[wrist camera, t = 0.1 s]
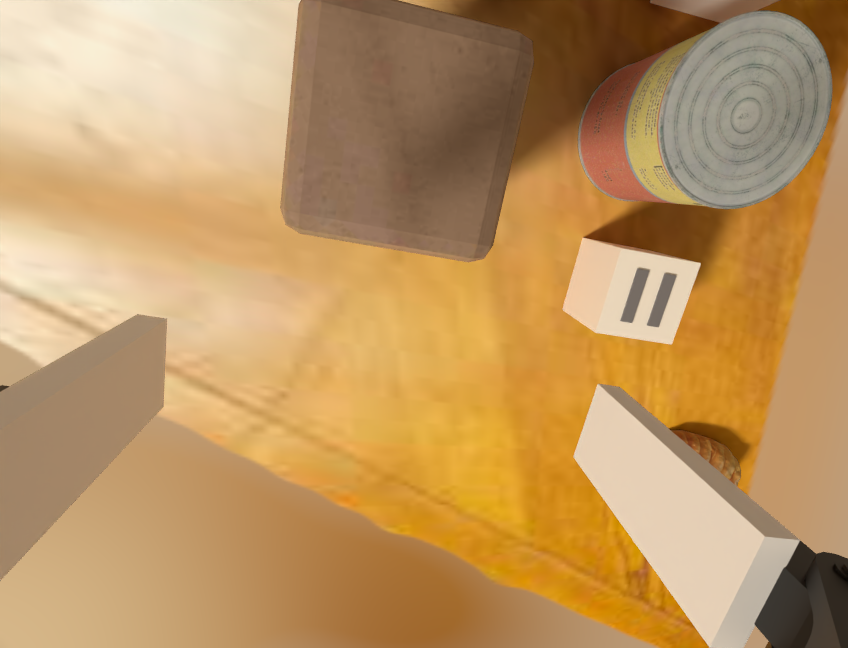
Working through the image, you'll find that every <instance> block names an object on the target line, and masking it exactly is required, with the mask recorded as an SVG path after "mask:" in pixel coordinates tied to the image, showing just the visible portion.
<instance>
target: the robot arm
mask: <svg viewBox="0 0 848 648" xmlns="http://www.w3.org/2000/svg"><path fill="white" fill-rule="evenodd" d="M166 331H167V319H165V318H158V317H152V316H145V315H138V314H137V315H136V316H134V317H132V318H130V319H128V320H127V321H125V322H123V323H121V324H120V325H118V326H116V327H114V328H113V329H111V330H109V331H107V332H105V333H104V334H102V335H100V336H98V337H97V338H95V339H93V340H91V341H89V342H88V343H86V344H84V345H82V346H81V347H79V348H77V349H75V350H73V351H72V352H70V353H68V354H66V355H65V356H63V357H61V358H59V359H57V360H56V361H54V362H52V363H50V364H49V365H47V366H45V367H43V368H42V369H40V370H38V371H36V372H34V373H33V374H31V375H29V376H27V377H26V378H24V379H22V380H20V381H19V382H17V383H15V384H13V385H11V386H3V385H2V386H0V581H1V579H2V578H3V577H4V576H5V575H6V574H7V573H8V572H9V571H10V570H11V569H12V568H13V566H15V565H16V563H17V562H18V561H19V560H20V559H21V558H22V557H23V556H24V555H25V554H26V553H27V552H28V550H30V548H31V547H32V546H33V545H34V544H35V543H36V542H37V541H38V540H39V539H40V538H41V537H42V536H43V535H44V534H45V533H46V531H47V530H48V529H49V528H50V527H51V526H52V525H53V524H54V523H55V522H56V521H57V520H58V518H60V517H61V515H62V514H63V513H64V512H65V511H66V510H67V509H68V508H69V507H70V506H71V505H72V504H73V503H74V502H75V501H76V499H77V498H78V497H79V496H80V495H81V494H82V493H83V492H84V491H85V490H86V489H87V488H88V486H89V485H90V484H91V483H92V482H93V481H94V480H95V479H96V478H97V477H98V476H99V474H101V473H102V472H103V470H104V469H105V468H106V467H107V466H108V465H109V464H110V463H111V462H112V461H113V460H114V459H115V458H116V457H117V456H118V455H119V454H120V452H121V451H122V450H123V449H124V448H125V447H126V446H127V445H128V444H129V443H130V442H131V441H132V439H134V438H135V436H136V435H137V434H138V433H139V432H140V431H141V430H142V429H143V428H144V427H145V426H146V425H147V423H149V422H150V420H151V419H152V418H153V417H154V416H155V415H156V414H157V413H158V412H159V411H160V410H161V409H162V408H163V402H164V379H165V355H166ZM574 458H575V460H576V461H577V463H578V464H579V465H580V467H581V468H582V470H583V471H584V472H585V474H586V475H587V477H588V478H589V479H590V481H591V482H592V484H593V485H594V486H595V488H596V489H597V491H598V492H599V493H600V495H601V496H602V498H603V499H604V500H605V502H606V503H607V505H608V506H609V507H610V509H611V510H612V512H613V513H614V514H615V516H616V517H617V519H618V520H619V521H620V523H621V524H622V526H623V527H624V528H625V530H626V531H627V533H628V534H629V535H630V537H631V538H632V540H633V541H634V542H635V544H636V545H637V547H638V548H639V549H640V551H641V552H642V554H643V555H644V556H645V558H646V559H647V561H648V562H649V563H650V565H651V566H652V568H653V569H654V570H655V572H656V573H657V575H658V576H659V577H660V579H661V580H662V582H663V583H664V584H665V586H666V587H667V588H668V590H669V591H670V593H671V594H672V595H673V597H674V598H675V600H676V601H677V602H678V604H679V605H680V607H681V608H682V609H683V611H684V612H685V614H686V615H687V616H688V618H689V619H690V621H691V622H692V623H693V625H694V626H695V628H696V629H697V630H698V632H699V633H700V635H701V636H702V637H703V639H704V640H705V642H706V643H707V644H708V646H709V647H710V648H744V645H745V644H746V642H747V640H748V638H749V636H750V634H751V632H752V630H753V629H754V627H755V625H756V627H757V628H758V629H759V630H760V631H761V632H762V634H763V635H764V636H765V637H766V638H767V639H768V641H769V642H768V644H767V646H766V648H848V559H847V558H844V557H842V556H839V555H836V554H832V553H826V552H822V553H818V554H816V553H814V552H813V551H812V550H811V549H810V548H809V547H807V546H806V545H805V544H804V543H803V542H801V541H800V540H799V539H798V538H797V537H796V536H795V535H793V534H792V533H791V532H790V531H789V530H788V529H786V528H785V527H784V526H783V525H782V524H780V523H779V522H778V521H777V520H776V519H775V518H773V517H772V516H771V515H770V514H769V513H768V512H766V511H765V510H764V509H763V508H762V507H760V506H759V505H758V504H757V503H756V502H754V501H753V500H752V499H751V498H750V497H749V496H747V495H746V494H745V493H744V492H743V491H742V490H740V489H739V488H738V487H737V486H736V485H734V484H733V483H732V482H731V481H730V480H729V479H727V478H726V477H725V476H724V475H723V474H721V473H720V472H719V471H718V470H717V469H716V468H714V467H713V466H712V465H711V464H710V463H709V462H707V461H706V460H705V459H704V458H703V457H701V456H700V455H699V454H698V453H697V452H696V451H694V450H693V449H692V448H691V447H690V446H688V445H687V444H686V443H685V442H684V441H683V440H681V439H680V438H679V437H678V436H677V435H675V434H674V433H673V432H672V431H671V430H670V429H668V428H667V427H666V426H665V425H664V424H663V423H661V422H660V421H659V420H658V419H657V418H655V417H654V416H653V415H652V414H651V413H650V412H648V411H647V410H646V409H645V408H644V407H642V406H641V405H640V404H639V403H638V402H637V401H635V400H634V399H633V398H632V397H631V396H629V395H628V394H627V393H626V392H625V391H624V390H622V389H621V388H620V387H616V386H609V385H603V384H598V385H597V388H596V391H595V394H594V397H593V400H592V403H591V406H590V409H589V412H588V415H587V418H586V421H585V424H584V427H583V430H582V433H581V436H580V439H579V442H578V445H577V448H576V451H575V454H574Z"/></svg>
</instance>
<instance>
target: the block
mask: <svg viewBox="0 0 848 648" xmlns="http://www.w3.org/2000/svg"><path fill="white" fill-rule="evenodd" d="M533 65H534V57H533V41H532V40H530V39H529V38H527V37H526V36H524V35H523V34H521V33H520V32H519V31H517V30H513V29H509V28H505V27H501V26H497V25H493V24H489V23H485V22H481V21H477V20H473V19H469V18H465V17H461V16H457V15H453V14H449V13H446V12H442V11H438V10H434V9H430V8H426V7H422V6H418V5H414V4H410V3H406V2H402V1H398V0H301V1H300V3H299V7H298V18H297V29H296V40H295V51H294V62H293V73H292V84H291V96H290V107H289V118H288V129H287V140H286V151H285V162H284V173H283V184H282V195H281V206H280V208H281V212H282V215H283V218H284V221H285V225H287V226H288V227H290V228H292V229H293V230H295V231H297V232H298V233H300V234H305V235H311V236H317V237H322V238H328V239H334V240H340V241H346V242H352V243H358V244H364V245H370V246H376V247H381V248H387V249H393V250H399V251H405V252H411V253H417V254H423V255H429V256H435V257H440V258H446V259H452V260H458V261H464V262H472V261H476V260H481V259H484V258H485V256H486V255H487V253H488V252H489V250H490V249H491V247H492V246H493V243H494V238H495V234H496V229H497V225H498V220H499V216H500V211H501V207H502V203H503V198H504V194H505V189H506V185H507V180H508V176H509V171H510V167H511V163H512V158H513V154H514V149H515V145H516V140H517V136H518V131H519V127H520V123H521V118H522V114H523V109H524V105H525V100H526V96H527V91H528V87H529V83H530V78H531V74H532V69H533Z"/></svg>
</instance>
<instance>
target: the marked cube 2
mask: <svg viewBox="0 0 848 648" xmlns="http://www.w3.org/2000/svg"><path fill="white" fill-rule="evenodd" d="M777 1H779V0H650V3H652V4H655V5H659V6H662V7H666V8H670V9H673V10H677V11H680V12H684V13H687V14H691V15H694V16H698V17H701V18H705V19H708V20H712V21H716V22H719V23H722V22H724V21H726V20H728V19H730V18H732V17H735V16H737V15H740V14H743V13H748V12H753V11H757V10H759V9H762V8H764V7H766V6H768V5H770V4H773V3H775V2H777Z"/></svg>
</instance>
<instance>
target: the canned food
mask: <svg viewBox="0 0 848 648" xmlns="http://www.w3.org/2000/svg"><path fill="white" fill-rule="evenodd" d="M831 101H832V76H831V70H830V65H829V61H828V58H827V55H826V53H825V51H824V48H823V46H822V44H821V43H820V41H819V40H818V38H817V37H816V35H815V34H814V33H813V32H812V31H811V30H810V29H809V28H808V27H807V26H806V25H805V24H804V23H802V22H801V21H799V20H798V19H796V18H794V17H792V16H790V15H787V14H784V13H780V12H776V11H753V12H748V13H743V14H740V15H737V16H735V17H732V18H730V19H728V20H726V21H724V22H722V23H720V24H718V25H717V26H715V27H713V28H712V29H710V30H707V31H705V32H703V33H701V34H699V35H696V36H694V37H692V38H690V39H687V40H685V41H683V42H681V43H679V44H676V45H674V46H672V47H670V48H668V49H665V50H663V51H661V52H659V53H656V54H654V55H652V56H650V57H648V58H645V59H643V60H641V61H639V62H636V63H632V64H630V65H627V66H625V67H623V68H621V69H619V70H617V71H616V72H614V73H613V74H611V75H610V76H609V77H607V78H606V79H605V80H604V81H603V82H602V83H601V84H600V85H599V86H598V87H597V89H596V90H595V91H594V93H593V94H592V96H591V97H590V99H589V101H588V103H587V105H586V107H585V109H584V112H583V114H582V117H581V121H580V125H579V132H578V150H579V156H580V160H581V163H582V166H583V169H584V171H585V173H586V175H587V176H588V178H589V179H590V181H591V182H592V183H593V184H594V186H595V187H597V188H598V189H599V190H600V191H601V192H603V193H604V194H606V195H608V196H610V197H612V198H615V199H618V200H623V201H648V202H661V203H674V204H687V205H700V206H708V207H712V208H719V209H736V208H743V207H747V206H751V205H753V204H756V203H759V202H761V201H763V200H765V199H767V198H769V197H771V196H773V195H774V194H776V193H777V192H779V191H780V190H781V189H783V188H784V187H785V186H786V185H788V184H789V183H790V182H791V181H792V180H793V179H794V178H795V177H796V176H797V175H798V174H799V173H800V172H801V170H802V169H803V168H804V167H805V165H806V164H807V163H808V161H809V160H810V158H811V157H812V155H813V154H814V152H815V150H816V148H817V146H818V145H819V142H820V140H821V138H822V136H823V133H824V131H825V128H826V125H827V121H828V118H829V113H830V109H831Z"/></svg>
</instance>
